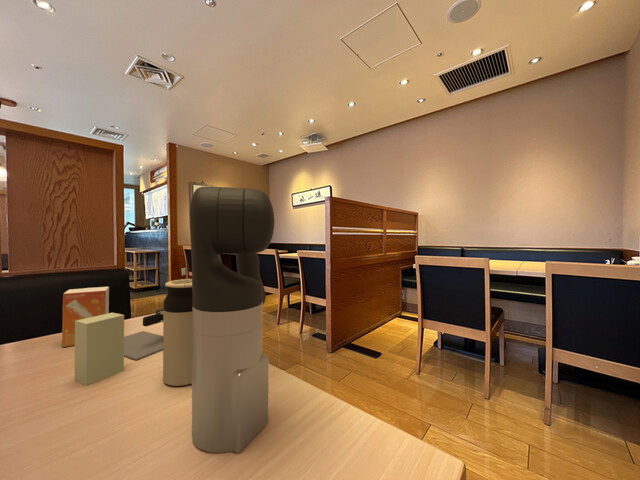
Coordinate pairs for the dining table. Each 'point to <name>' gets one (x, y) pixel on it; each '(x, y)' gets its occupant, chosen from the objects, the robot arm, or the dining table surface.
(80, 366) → the tall tan pillar block
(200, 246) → the robot arm
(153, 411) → the dining table surface
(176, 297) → the travel mug
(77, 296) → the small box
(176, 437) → the dining table surface
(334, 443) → the dining table surface
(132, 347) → the rubber mat
